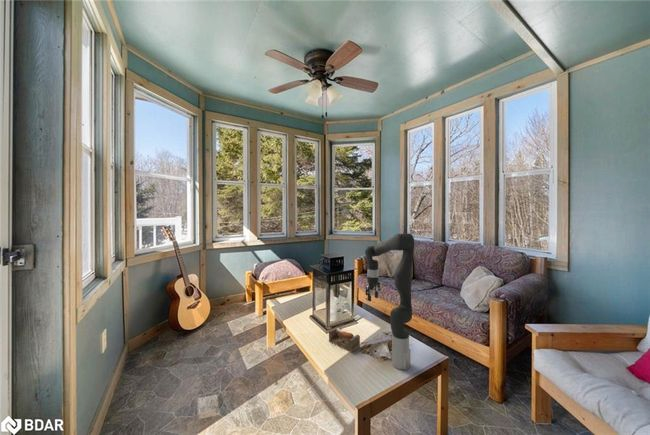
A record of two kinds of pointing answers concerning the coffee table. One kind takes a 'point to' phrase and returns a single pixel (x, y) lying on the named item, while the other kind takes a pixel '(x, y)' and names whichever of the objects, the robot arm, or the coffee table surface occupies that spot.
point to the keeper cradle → (350, 346)
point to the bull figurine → (344, 335)
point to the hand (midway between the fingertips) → (373, 299)
